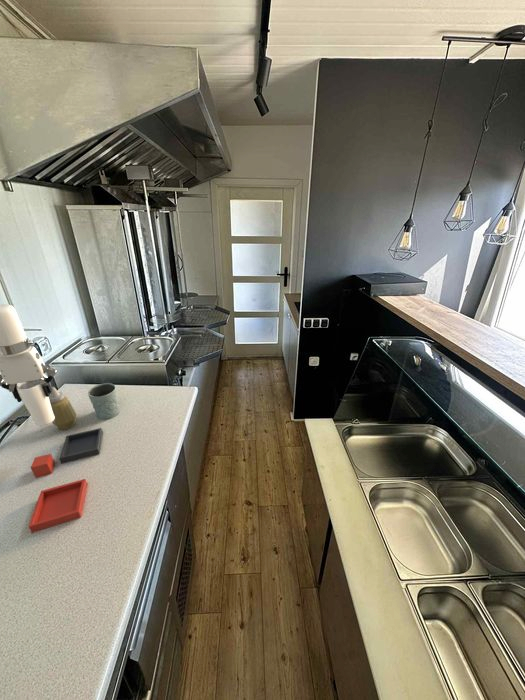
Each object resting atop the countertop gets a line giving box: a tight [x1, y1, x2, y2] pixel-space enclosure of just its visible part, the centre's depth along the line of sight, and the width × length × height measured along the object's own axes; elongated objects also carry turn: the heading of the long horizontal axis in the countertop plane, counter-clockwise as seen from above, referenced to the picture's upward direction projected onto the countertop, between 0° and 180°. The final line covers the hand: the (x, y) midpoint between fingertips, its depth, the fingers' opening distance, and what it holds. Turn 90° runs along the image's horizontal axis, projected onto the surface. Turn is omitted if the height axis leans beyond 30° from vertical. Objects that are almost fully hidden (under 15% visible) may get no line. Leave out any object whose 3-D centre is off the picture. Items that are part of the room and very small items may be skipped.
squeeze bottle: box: [49, 386, 77, 431], centre depth 110 cm, size 8×8×18 cm
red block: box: [30, 453, 56, 479], centre depth 93 cm, size 4×4×4 cm
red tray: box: [28, 478, 88, 534], centre depth 82 cm, size 12×12×2 cm
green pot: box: [87, 382, 120, 421], centre depth 118 cm, size 10×10×12 cm
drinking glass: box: [17, 380, 55, 427], centre depth 93 cm, size 7×7×15 cm
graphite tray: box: [58, 427, 104, 465], centre depth 103 cm, size 12×12×2 cm
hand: (35, 396), depth 91 cm, fingers closed on drinking glass, 6 cm apart
